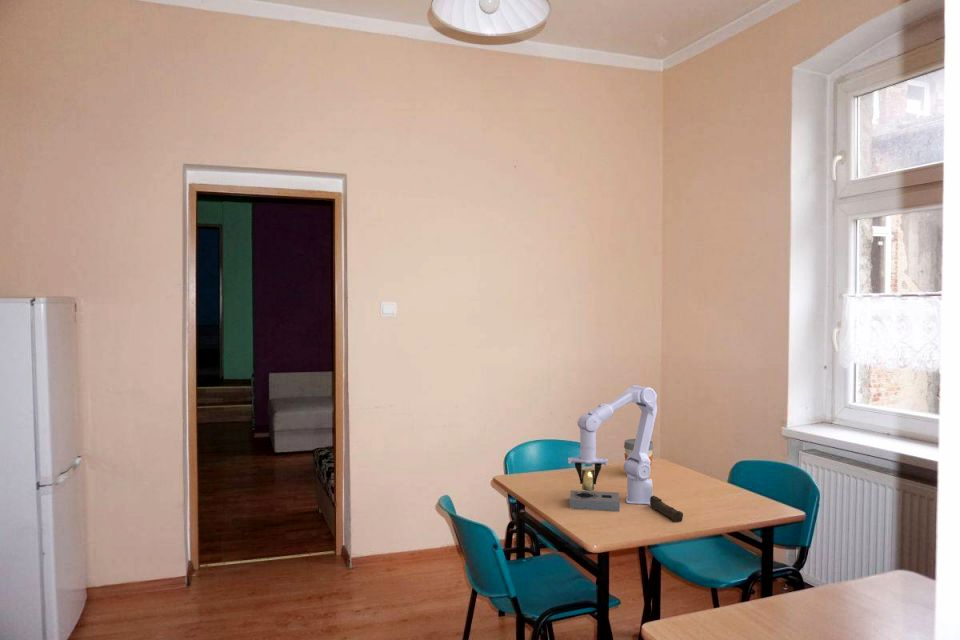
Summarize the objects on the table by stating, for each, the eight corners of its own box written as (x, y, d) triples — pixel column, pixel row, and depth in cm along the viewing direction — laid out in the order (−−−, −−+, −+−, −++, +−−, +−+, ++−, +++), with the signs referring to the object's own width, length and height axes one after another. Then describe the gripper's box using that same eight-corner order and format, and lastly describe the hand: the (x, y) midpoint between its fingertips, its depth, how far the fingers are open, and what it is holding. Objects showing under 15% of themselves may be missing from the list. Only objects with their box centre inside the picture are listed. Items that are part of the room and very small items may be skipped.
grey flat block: (618, 501, 245) (618, 492, 245) (619, 511, 233) (619, 501, 233) (570, 499, 248) (570, 490, 248) (569, 508, 236) (569, 499, 236)
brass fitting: (593, 487, 240) (593, 468, 239) (594, 491, 235) (594, 472, 235) (581, 487, 240) (581, 468, 240) (582, 490, 236) (582, 471, 236)
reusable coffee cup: (647, 471, 290) (647, 438, 290) (657, 479, 278) (657, 444, 277) (620, 472, 289) (620, 438, 289) (628, 479, 277) (628, 444, 276)
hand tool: (683, 522, 222) (683, 509, 222) (673, 523, 221) (673, 510, 221) (657, 506, 240) (657, 493, 240) (647, 506, 240) (647, 494, 239)
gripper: (568, 448, 235) (568, 485, 235) (608, 450, 232) (608, 487, 233) (568, 444, 242) (568, 480, 242) (607, 445, 239) (607, 482, 240)
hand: (588, 483), depth 238 cm, fingers closed on brass fitting, 4 cm apart
